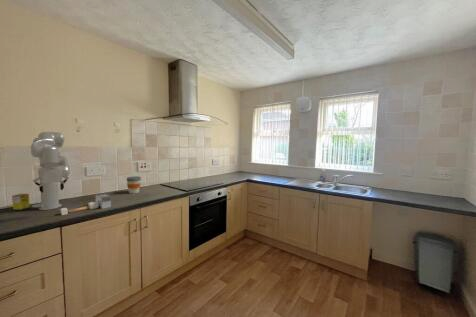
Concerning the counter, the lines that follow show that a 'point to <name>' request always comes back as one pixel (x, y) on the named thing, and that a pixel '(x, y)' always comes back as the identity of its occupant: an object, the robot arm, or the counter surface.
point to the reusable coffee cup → (133, 184)
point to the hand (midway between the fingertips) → (52, 190)
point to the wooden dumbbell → (91, 206)
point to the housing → (103, 200)
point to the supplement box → (20, 201)
